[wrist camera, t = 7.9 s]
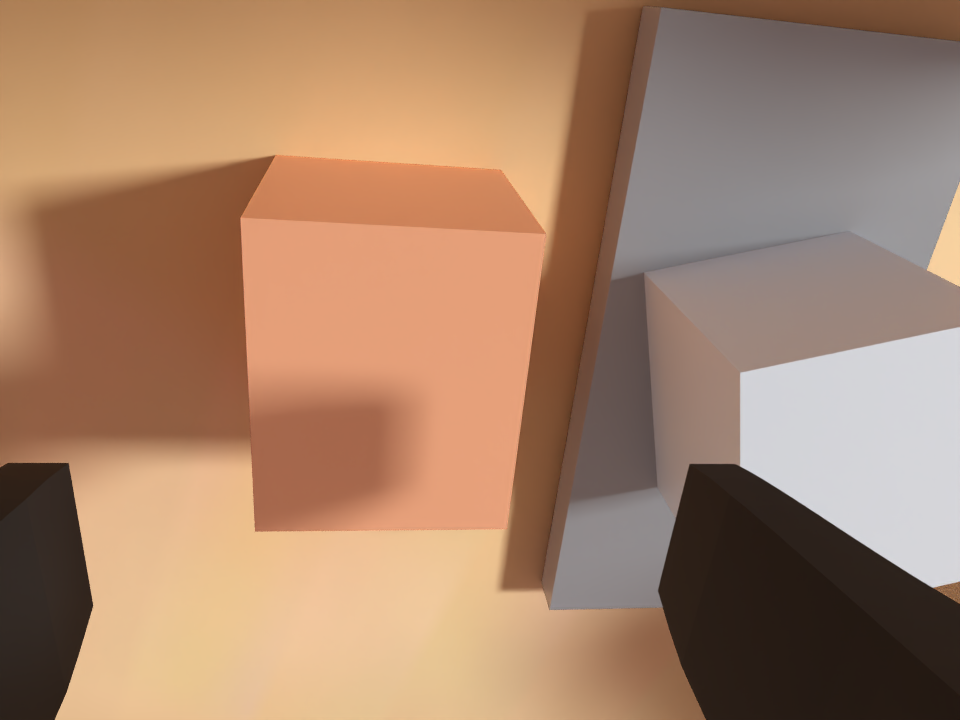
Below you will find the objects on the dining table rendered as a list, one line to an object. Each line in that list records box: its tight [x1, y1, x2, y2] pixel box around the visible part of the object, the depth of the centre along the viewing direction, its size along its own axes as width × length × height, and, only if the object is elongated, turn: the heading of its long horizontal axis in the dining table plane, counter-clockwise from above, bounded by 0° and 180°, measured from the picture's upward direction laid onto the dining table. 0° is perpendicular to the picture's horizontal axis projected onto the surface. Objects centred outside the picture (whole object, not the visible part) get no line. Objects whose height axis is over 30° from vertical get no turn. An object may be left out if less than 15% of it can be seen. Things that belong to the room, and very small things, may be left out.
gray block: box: [542, 6, 960, 610], centre depth 17 cm, size 7×14×1 cm, turn 174°
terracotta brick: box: [240, 155, 546, 531], centre depth 14 cm, size 4×6×4 cm
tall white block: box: [644, 231, 960, 588], centre depth 15 cm, size 4×6×4 cm
